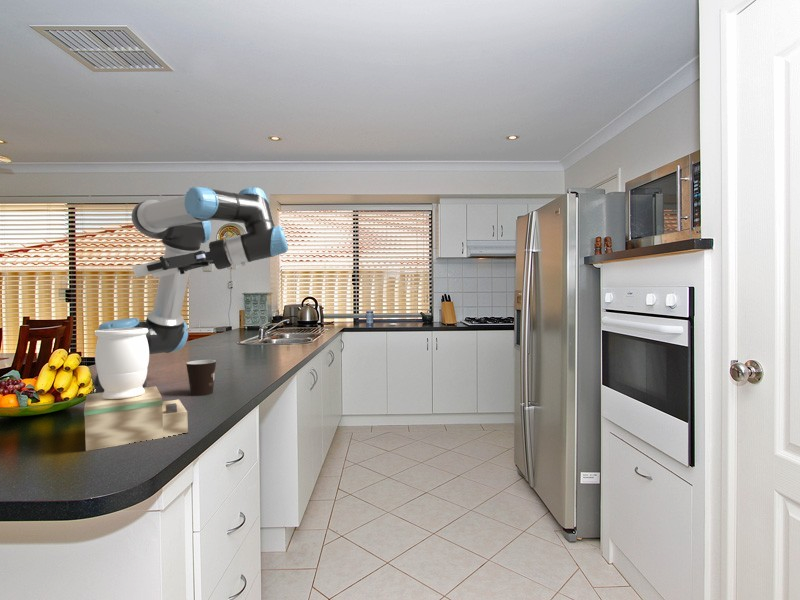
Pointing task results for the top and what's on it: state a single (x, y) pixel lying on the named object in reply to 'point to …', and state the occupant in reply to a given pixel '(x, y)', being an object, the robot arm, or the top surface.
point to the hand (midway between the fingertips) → (143, 272)
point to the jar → (122, 361)
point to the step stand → (131, 419)
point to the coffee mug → (201, 376)
